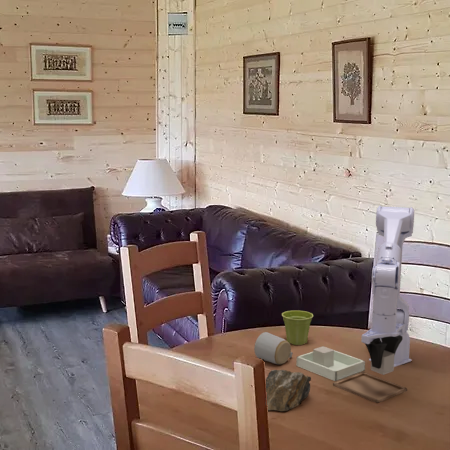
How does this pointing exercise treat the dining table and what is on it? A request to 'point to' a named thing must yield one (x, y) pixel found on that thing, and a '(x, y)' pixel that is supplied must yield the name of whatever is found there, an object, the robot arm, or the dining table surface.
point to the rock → (286, 389)
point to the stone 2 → (385, 363)
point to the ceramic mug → (272, 348)
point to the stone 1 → (323, 356)
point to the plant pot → (297, 326)
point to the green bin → (340, 370)
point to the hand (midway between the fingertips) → (382, 365)
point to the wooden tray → (370, 387)
